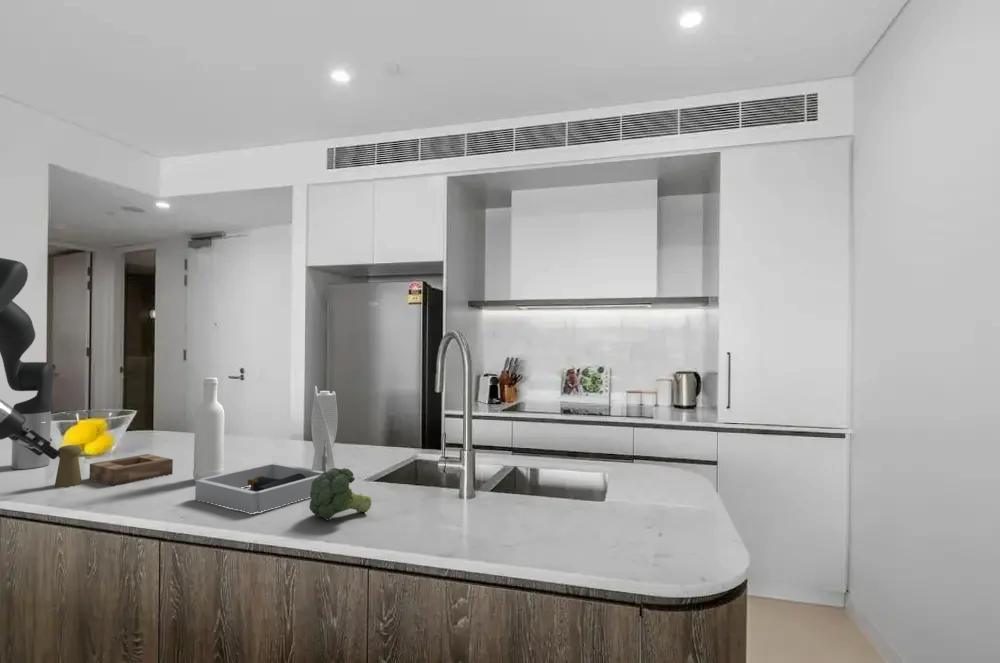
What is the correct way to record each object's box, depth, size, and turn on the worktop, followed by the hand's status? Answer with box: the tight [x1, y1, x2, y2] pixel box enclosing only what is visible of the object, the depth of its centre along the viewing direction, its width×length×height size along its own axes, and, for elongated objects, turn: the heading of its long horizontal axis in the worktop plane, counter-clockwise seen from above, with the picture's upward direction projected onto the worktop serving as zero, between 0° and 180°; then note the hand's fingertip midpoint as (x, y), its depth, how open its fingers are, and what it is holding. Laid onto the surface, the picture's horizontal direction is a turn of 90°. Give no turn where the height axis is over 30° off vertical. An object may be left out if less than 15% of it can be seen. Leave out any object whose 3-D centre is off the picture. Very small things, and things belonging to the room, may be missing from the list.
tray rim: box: [194, 462, 323, 513], centre depth 144 cm, size 24×24×5 cm
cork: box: [54, 444, 83, 488], centre depth 152 cm, size 6×6×11 cm
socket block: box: [88, 453, 174, 487], centre depth 162 cm, size 14×16×4 cm
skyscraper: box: [310, 385, 339, 472], centre depth 160 cm, size 8×8×28 cm
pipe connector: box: [248, 473, 306, 492], centre depth 143 cm, size 12×5×15 cm
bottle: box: [192, 377, 225, 483], centre depth 160 cm, size 8×8×30 cm
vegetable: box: [309, 467, 372, 520], centre depth 128 cm, size 12×13×15 cm
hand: (49, 454), depth 148 cm, fingers open, 8 cm apart
